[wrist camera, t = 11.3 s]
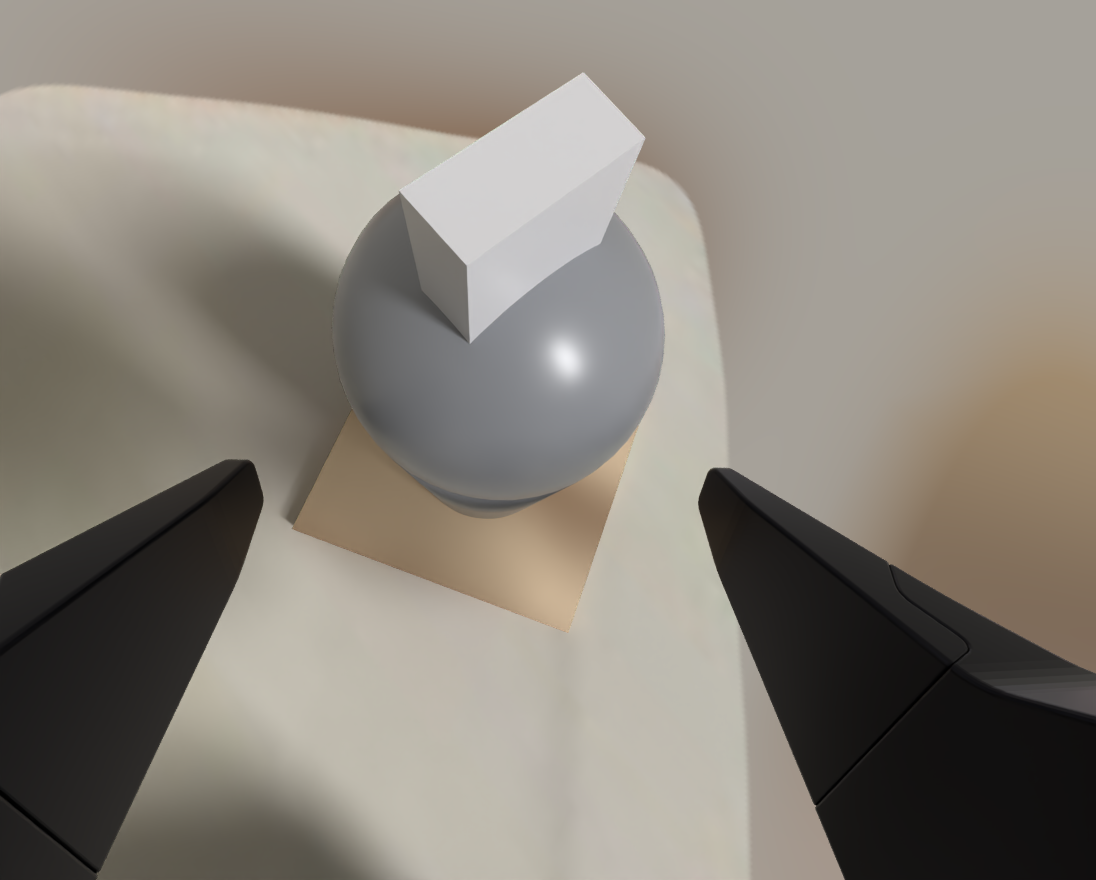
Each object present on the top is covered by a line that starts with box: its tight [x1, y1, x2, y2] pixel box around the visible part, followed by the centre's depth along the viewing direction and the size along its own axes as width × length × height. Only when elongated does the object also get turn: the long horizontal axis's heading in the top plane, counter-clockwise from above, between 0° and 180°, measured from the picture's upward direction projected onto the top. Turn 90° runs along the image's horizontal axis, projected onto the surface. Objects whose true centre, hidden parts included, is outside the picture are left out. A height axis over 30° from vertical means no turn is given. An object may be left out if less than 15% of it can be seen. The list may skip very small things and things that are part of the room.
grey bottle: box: [332, 72, 665, 519], centre depth 11 cm, size 5×5×14 cm
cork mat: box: [292, 409, 639, 633], centre depth 18 cm, size 10×10×1 cm
